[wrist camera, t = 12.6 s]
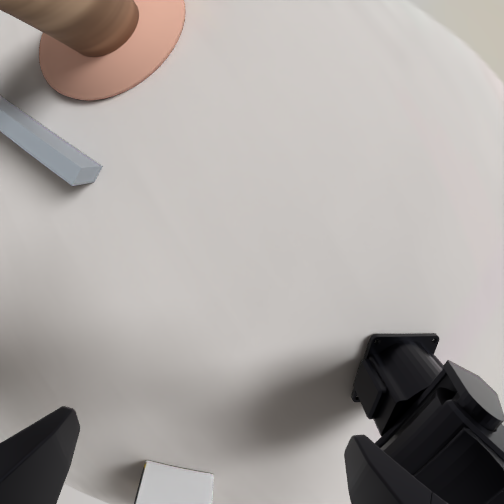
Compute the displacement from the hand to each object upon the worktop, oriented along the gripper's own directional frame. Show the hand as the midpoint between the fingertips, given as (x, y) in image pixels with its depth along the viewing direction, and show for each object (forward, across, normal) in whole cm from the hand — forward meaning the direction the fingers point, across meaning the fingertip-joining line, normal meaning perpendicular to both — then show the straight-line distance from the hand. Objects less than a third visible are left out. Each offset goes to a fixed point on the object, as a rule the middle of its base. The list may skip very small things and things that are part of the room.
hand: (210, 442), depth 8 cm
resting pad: (+13, +10, -17) cm, 24 cm away
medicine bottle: (+13, +4, +24) cm, 28 cm away
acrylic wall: (+13, +15, -10) cm, 22 cm away
